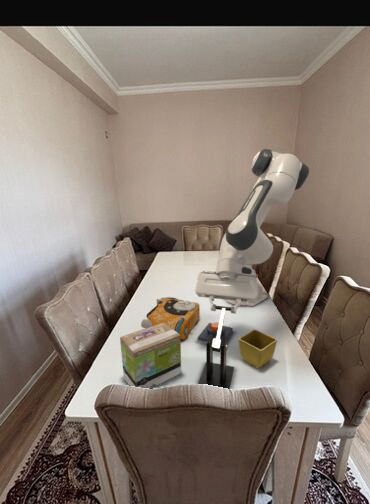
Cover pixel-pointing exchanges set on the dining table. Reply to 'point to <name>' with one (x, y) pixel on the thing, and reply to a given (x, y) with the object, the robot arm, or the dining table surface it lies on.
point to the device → (174, 315)
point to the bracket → (216, 367)
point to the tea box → (151, 356)
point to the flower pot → (257, 347)
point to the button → (214, 326)
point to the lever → (219, 329)
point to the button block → (214, 333)
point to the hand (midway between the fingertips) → (223, 311)
